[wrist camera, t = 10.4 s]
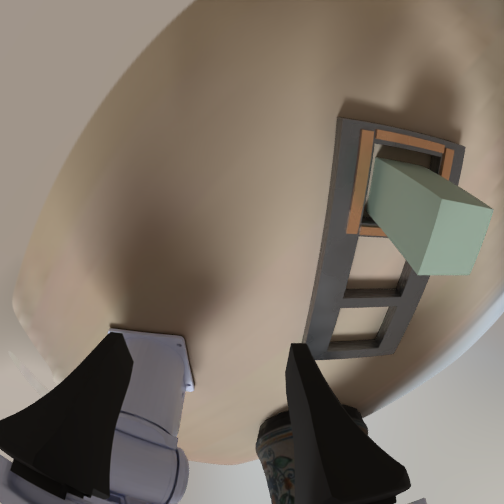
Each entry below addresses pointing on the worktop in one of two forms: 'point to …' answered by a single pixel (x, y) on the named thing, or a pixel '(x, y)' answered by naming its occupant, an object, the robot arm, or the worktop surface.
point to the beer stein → (284, 454)
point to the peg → (427, 217)
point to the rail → (355, 224)
